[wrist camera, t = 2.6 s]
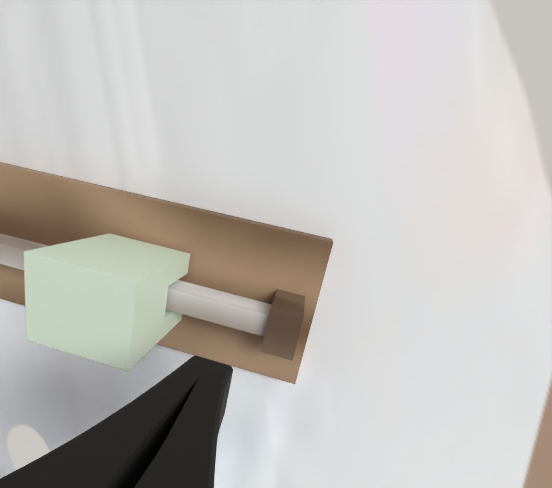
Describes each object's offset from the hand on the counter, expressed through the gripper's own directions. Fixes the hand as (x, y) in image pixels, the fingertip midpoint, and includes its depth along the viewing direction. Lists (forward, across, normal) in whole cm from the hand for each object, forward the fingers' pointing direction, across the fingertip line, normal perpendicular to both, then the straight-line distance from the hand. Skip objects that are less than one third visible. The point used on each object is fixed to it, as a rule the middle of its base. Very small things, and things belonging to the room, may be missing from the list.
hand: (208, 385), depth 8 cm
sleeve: (+6, +7, 0) cm, 9 cm away
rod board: (+7, +11, 0) cm, 13 cm away
